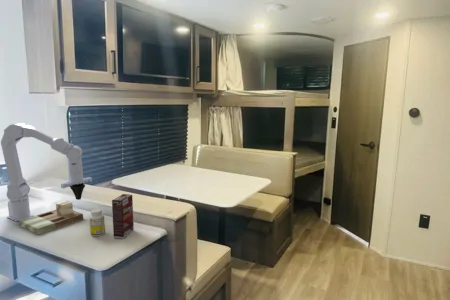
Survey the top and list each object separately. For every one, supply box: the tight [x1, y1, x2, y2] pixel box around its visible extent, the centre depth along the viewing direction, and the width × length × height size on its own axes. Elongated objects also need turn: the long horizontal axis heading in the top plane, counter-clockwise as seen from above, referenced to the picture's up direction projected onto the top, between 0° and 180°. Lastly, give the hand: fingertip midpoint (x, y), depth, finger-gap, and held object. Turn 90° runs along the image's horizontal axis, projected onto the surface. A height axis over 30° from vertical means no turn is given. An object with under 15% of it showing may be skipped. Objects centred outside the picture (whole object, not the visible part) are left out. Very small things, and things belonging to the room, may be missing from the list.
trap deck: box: [18, 209, 84, 235], centre depth 141 cm, size 16×20×2 cm
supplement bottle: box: [89, 208, 106, 237], centre depth 128 cm, size 6×6×10 cm
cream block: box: [55, 199, 74, 216], centre depth 145 cm, size 5×5×5 cm
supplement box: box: [111, 193, 135, 240], centre depth 128 cm, size 9×5×16 cm, turn 168°
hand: (78, 199), depth 151 cm, fingers closed
